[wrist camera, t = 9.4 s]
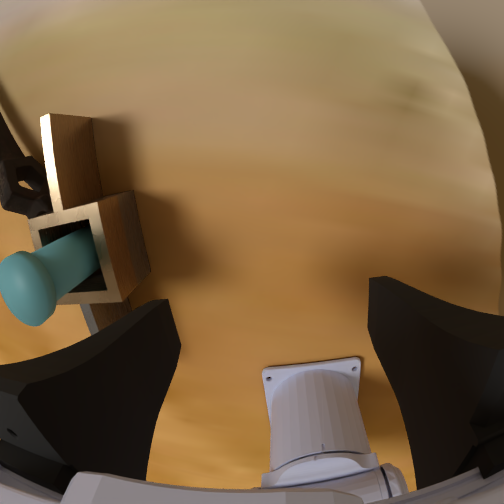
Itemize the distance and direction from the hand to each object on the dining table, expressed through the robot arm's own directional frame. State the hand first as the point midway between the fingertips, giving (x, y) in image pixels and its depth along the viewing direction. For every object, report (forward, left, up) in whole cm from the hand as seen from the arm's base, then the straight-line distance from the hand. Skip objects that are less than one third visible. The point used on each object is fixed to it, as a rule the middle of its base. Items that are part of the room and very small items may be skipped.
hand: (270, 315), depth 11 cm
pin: (+1, +12, -10) cm, 16 cm away
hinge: (+1, +12, -10) cm, 16 cm away
